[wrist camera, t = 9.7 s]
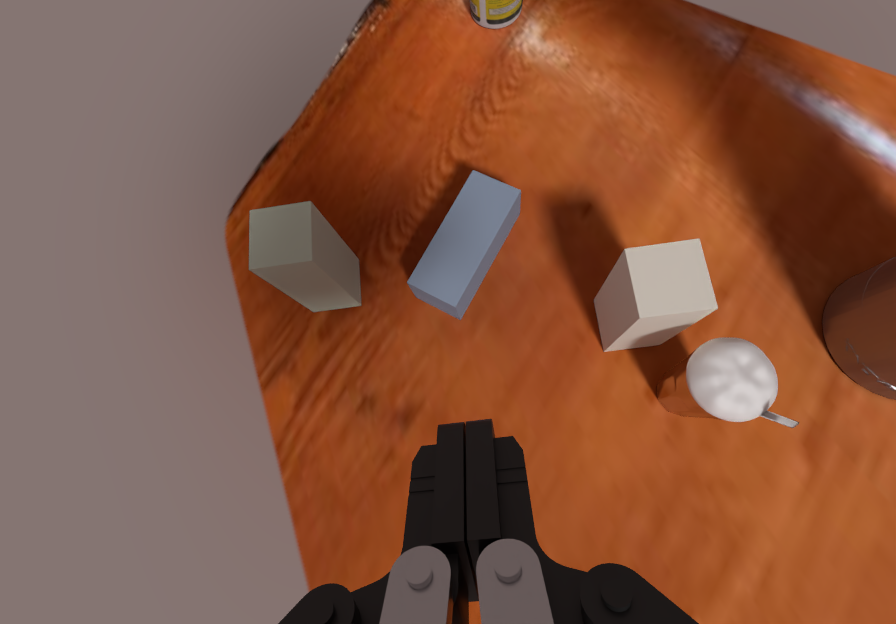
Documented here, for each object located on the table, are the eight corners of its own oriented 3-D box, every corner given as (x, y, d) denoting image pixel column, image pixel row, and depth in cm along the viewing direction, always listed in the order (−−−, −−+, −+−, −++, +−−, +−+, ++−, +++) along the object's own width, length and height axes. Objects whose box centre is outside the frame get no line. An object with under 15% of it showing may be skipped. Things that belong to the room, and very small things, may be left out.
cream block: (647, 292, 36) (699, 238, 26) (659, 344, 34) (718, 308, 25) (593, 299, 36) (624, 248, 26) (603, 351, 35) (639, 318, 25)
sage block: (359, 259, 39) (310, 200, 30) (361, 305, 38) (312, 260, 28) (312, 266, 39) (249, 210, 30) (313, 312, 38) (248, 269, 29)
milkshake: (684, 449, 32) (759, 453, 23) (632, 384, 34) (681, 362, 24) (737, 410, 33) (832, 398, 23) (683, 348, 34) (751, 312, 25)
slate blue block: (460, 320, 37) (519, 215, 39) (455, 307, 33) (520, 190, 35) (417, 298, 38) (476, 196, 40) (406, 282, 34) (473, 169, 36)
